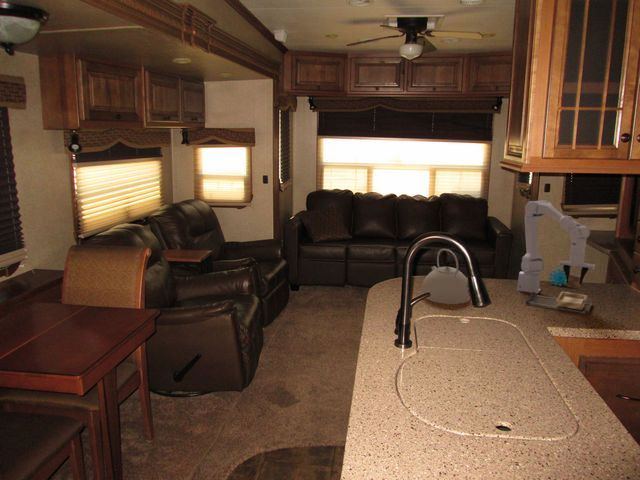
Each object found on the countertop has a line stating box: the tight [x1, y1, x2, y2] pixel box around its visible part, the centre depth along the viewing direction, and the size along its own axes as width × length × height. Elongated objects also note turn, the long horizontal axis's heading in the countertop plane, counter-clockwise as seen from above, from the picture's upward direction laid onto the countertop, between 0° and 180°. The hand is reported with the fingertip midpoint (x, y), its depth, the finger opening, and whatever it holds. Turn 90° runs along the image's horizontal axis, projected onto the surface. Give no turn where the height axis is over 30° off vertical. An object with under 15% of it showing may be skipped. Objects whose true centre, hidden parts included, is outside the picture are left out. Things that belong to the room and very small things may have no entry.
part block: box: [567, 273, 581, 289], centre depth 228 cm, size 4×4×5 cm
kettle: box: [420, 248, 471, 305], centre depth 241 cm, size 25×23×22 cm
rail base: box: [525, 292, 593, 316], centre depth 231 cm, size 25×16×2 cm, turn 57°
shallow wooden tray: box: [555, 291, 588, 310], centre depth 228 cm, size 11×16×3 cm
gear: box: [548, 268, 568, 287], centre depth 262 cm, size 11×6×10 cm
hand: (574, 283), depth 228 cm, fingers closed on part block, 4 cm apart
